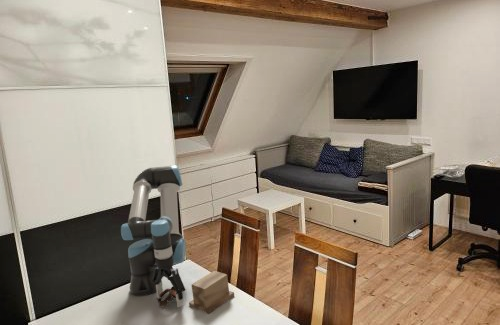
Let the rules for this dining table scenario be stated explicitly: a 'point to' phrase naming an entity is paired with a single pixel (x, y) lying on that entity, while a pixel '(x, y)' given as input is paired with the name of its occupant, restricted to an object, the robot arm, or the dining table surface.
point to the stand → (210, 292)
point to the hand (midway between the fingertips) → (170, 301)
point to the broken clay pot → (169, 298)
